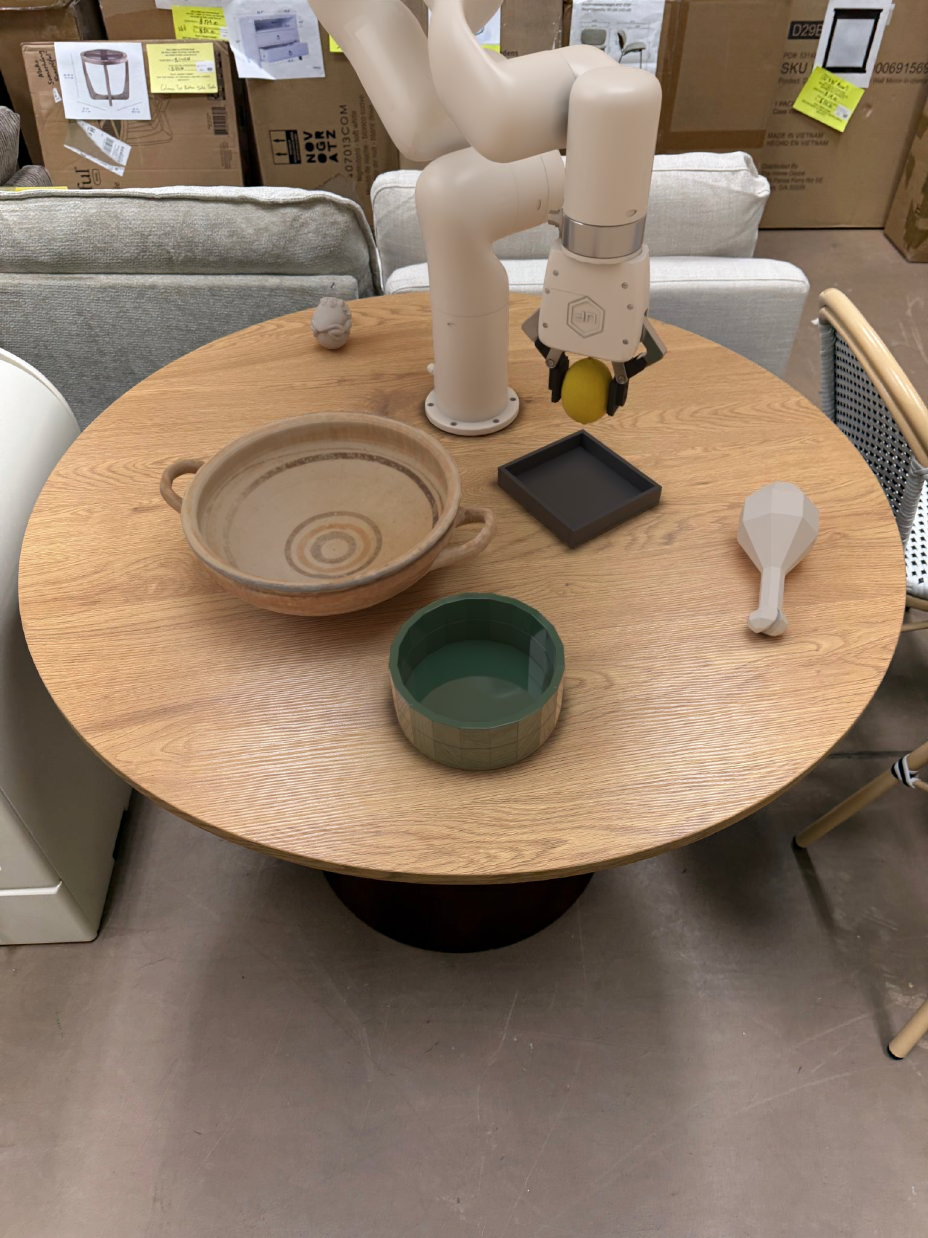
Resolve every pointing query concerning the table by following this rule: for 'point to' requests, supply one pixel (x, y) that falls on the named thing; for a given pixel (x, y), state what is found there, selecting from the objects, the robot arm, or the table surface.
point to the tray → (578, 487)
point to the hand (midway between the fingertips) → (586, 401)
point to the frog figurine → (331, 322)
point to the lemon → (586, 390)
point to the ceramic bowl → (325, 512)
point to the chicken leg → (776, 545)
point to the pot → (477, 680)
